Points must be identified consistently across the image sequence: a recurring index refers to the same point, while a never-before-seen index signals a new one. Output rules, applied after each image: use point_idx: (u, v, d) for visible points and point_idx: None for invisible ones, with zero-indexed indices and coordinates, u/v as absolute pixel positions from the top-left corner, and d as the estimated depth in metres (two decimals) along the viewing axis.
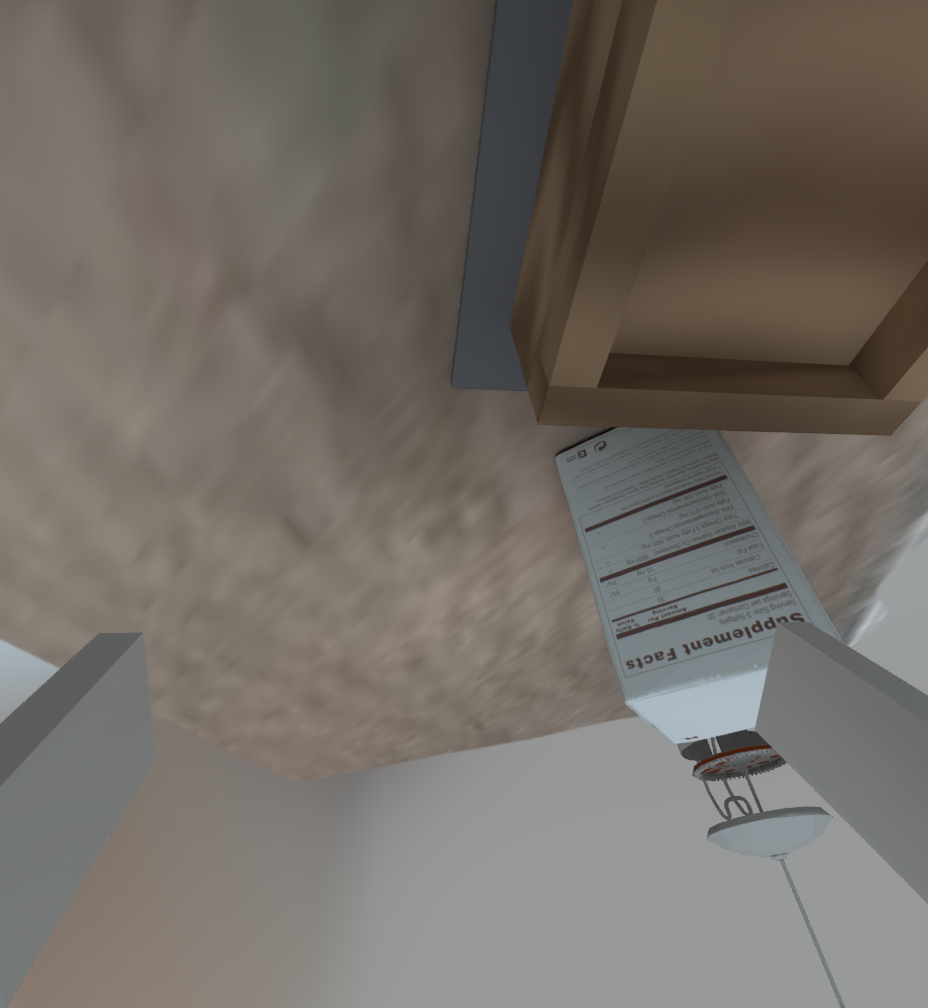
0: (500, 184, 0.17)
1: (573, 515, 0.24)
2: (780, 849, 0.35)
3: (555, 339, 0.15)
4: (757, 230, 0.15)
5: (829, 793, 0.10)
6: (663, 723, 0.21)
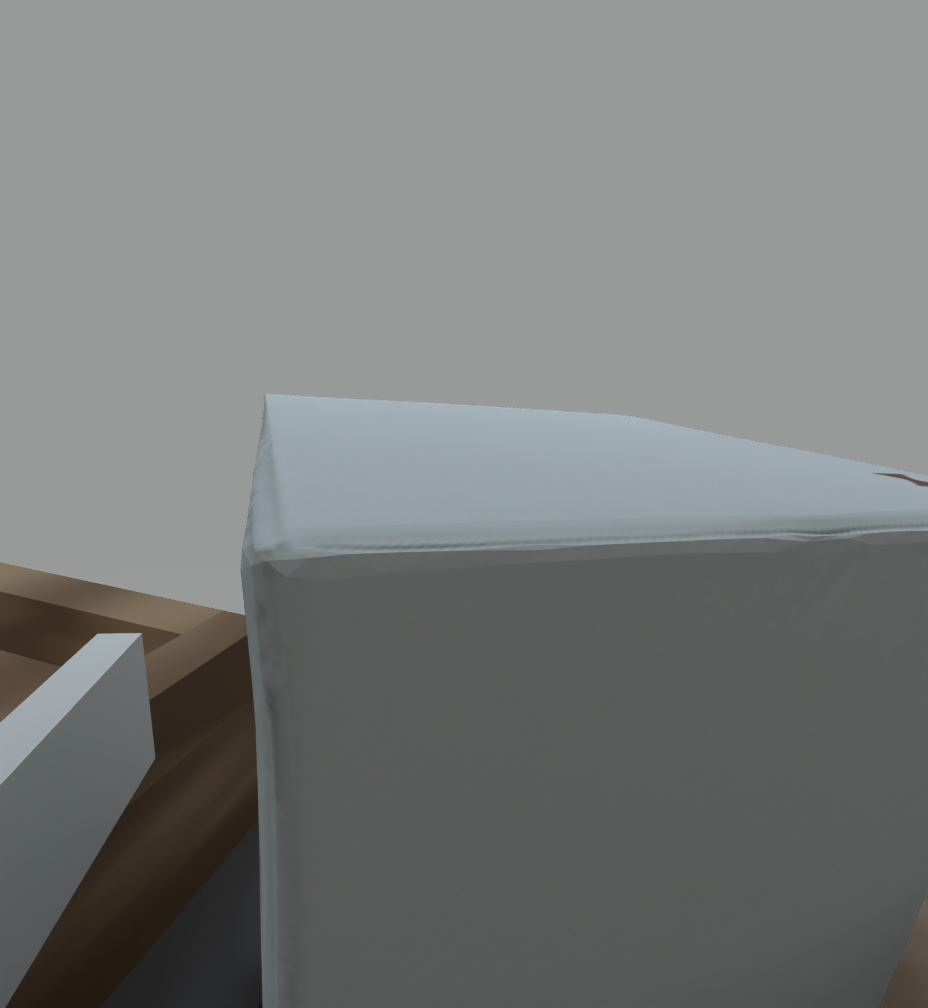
0: None
1: None
2: None
3: None
4: None
5: None
6: (724, 494, 0.04)
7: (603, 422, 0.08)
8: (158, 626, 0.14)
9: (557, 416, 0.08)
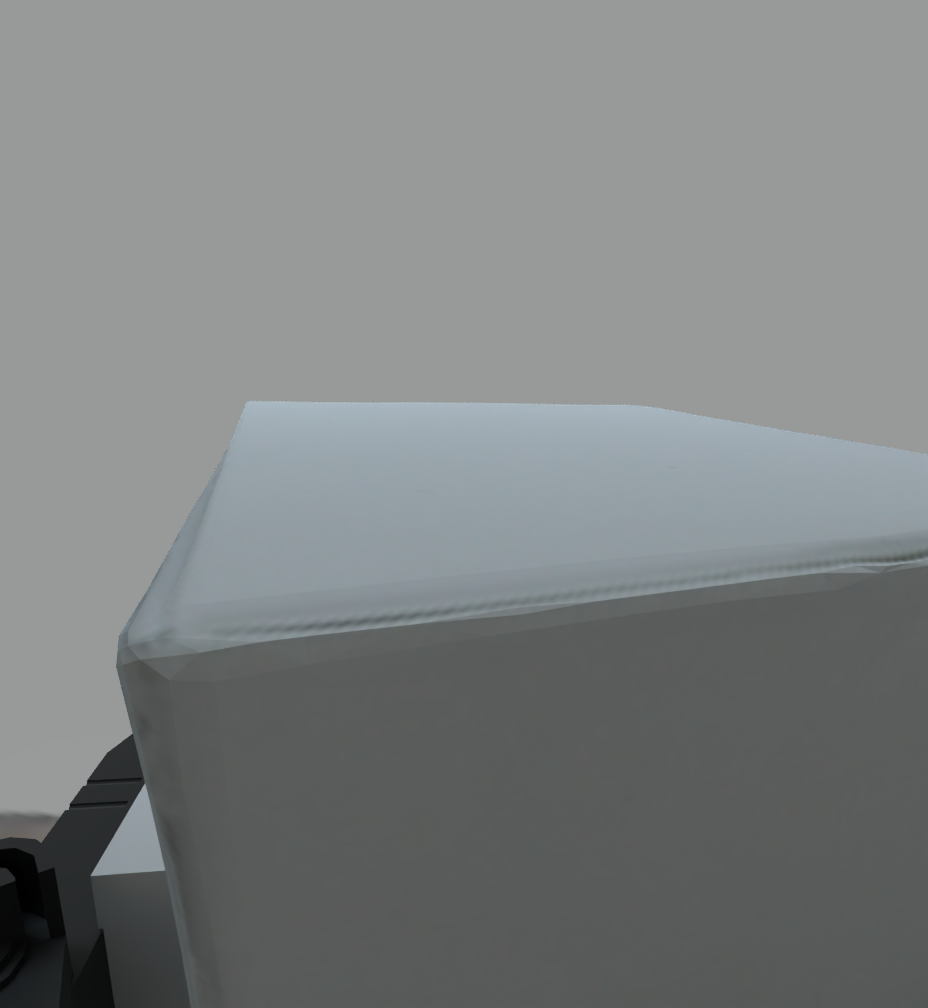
0: None
1: None
2: None
3: None
4: None
5: None
6: (768, 513, 0.03)
7: (616, 417, 0.07)
8: None
9: (565, 412, 0.07)
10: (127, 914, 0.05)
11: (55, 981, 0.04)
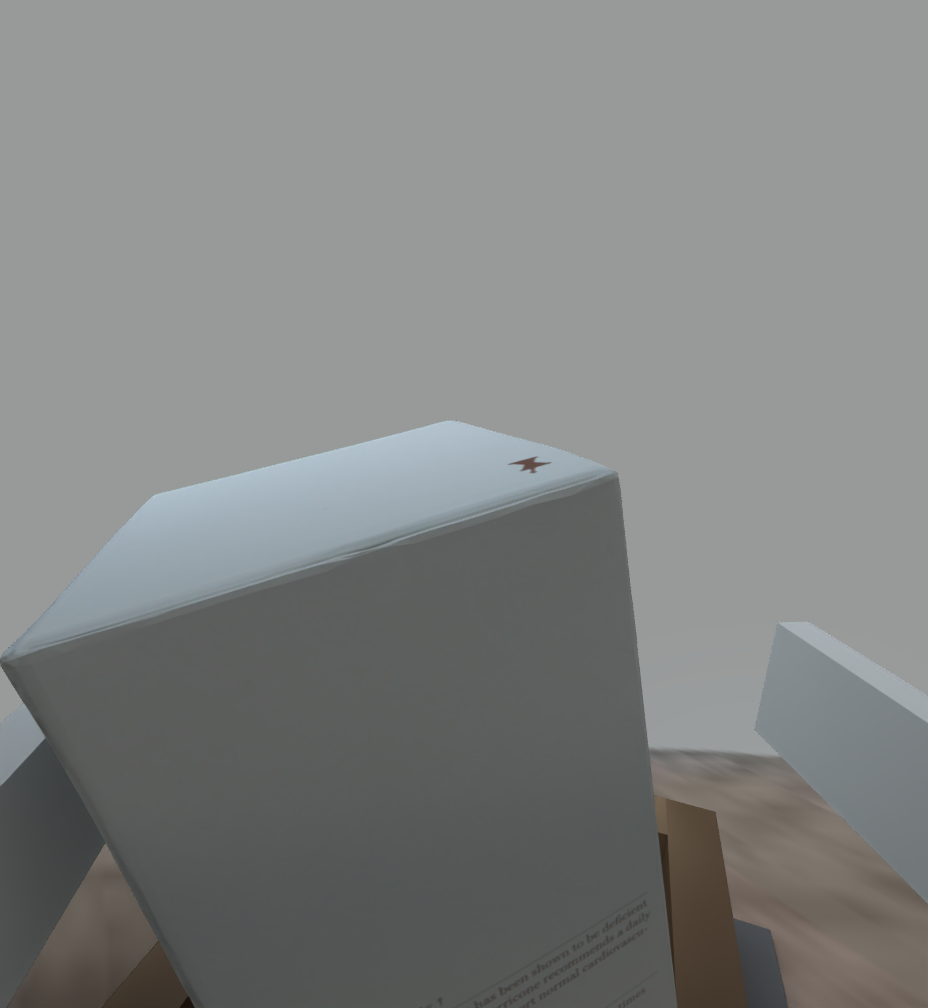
0: None
1: None
2: None
3: None
4: None
5: (828, 793, 0.10)
6: (328, 534, 0.07)
7: (386, 451, 0.10)
8: None
9: (354, 456, 0.11)
10: None
11: None
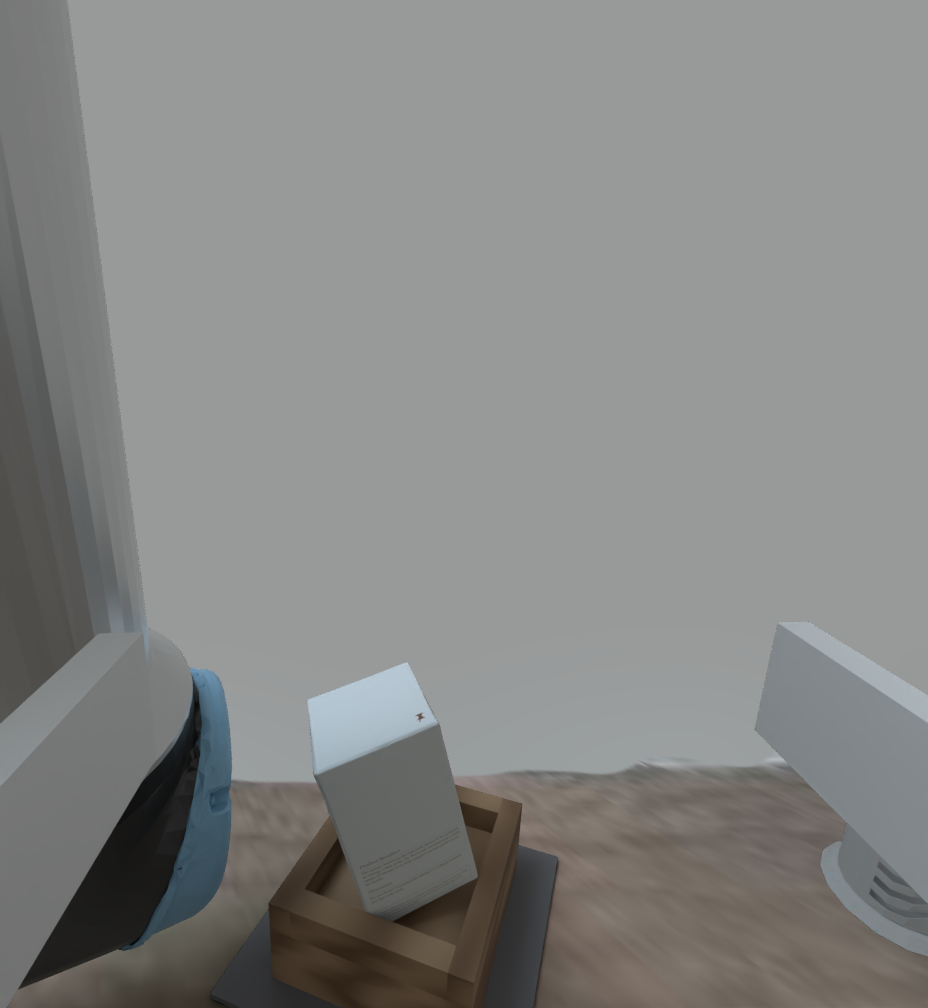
0: None
1: (355, 885, 0.31)
2: None
3: (426, 971, 0.30)
4: None
5: (829, 793, 0.10)
6: (372, 742, 0.30)
7: (384, 692, 0.34)
8: (487, 808, 0.40)
9: (374, 693, 0.34)
10: None
11: None
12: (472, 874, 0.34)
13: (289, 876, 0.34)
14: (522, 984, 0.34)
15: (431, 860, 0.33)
